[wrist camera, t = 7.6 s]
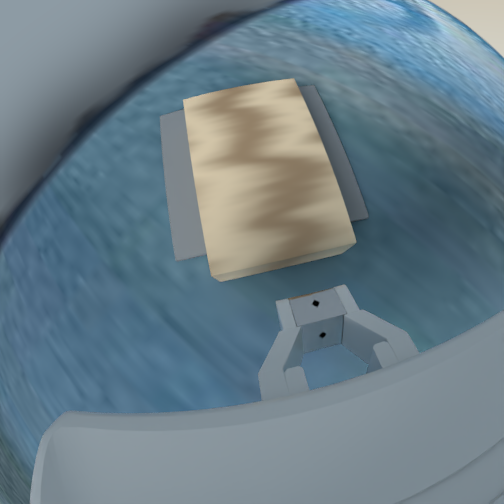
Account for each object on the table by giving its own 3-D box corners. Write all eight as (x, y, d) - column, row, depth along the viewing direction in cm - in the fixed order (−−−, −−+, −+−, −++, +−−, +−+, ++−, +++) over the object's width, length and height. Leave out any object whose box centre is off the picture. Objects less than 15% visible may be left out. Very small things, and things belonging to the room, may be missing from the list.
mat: (313, 87, 24) (313, 85, 23) (367, 218, 21) (369, 216, 20) (161, 118, 24) (159, 116, 23) (177, 261, 21) (175, 260, 20)
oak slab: (342, 253, 20) (291, 104, 23) (356, 242, 16) (293, 78, 19) (220, 281, 20) (192, 124, 23) (211, 276, 17) (183, 99, 19)
